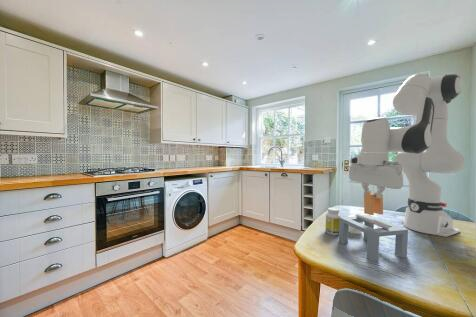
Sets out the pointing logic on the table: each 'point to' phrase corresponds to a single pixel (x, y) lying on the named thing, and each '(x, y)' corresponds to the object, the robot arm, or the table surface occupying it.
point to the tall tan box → (373, 204)
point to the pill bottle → (332, 221)
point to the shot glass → (353, 230)
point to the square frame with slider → (374, 234)
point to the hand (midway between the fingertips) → (372, 196)
